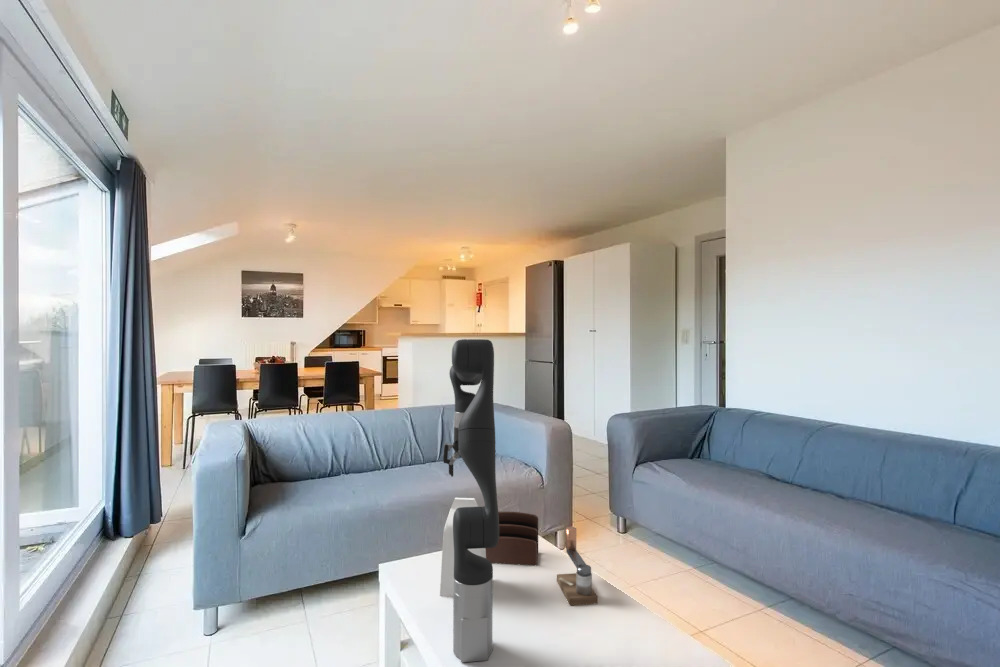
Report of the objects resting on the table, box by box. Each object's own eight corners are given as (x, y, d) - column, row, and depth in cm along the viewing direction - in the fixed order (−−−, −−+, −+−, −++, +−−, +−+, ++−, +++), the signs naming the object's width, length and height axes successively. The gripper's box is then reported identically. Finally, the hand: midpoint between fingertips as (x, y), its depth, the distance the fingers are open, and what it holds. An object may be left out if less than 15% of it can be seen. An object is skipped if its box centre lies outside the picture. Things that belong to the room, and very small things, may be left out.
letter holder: (481, 550, 174) (481, 509, 175) (538, 553, 172) (538, 512, 172) (476, 563, 165) (476, 519, 165) (537, 566, 162) (537, 522, 162)
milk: (486, 578, 153) (487, 493, 154) (481, 598, 142) (482, 505, 142) (447, 576, 155) (448, 492, 155) (439, 596, 143) (440, 504, 143)
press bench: (597, 603, 139) (597, 578, 139) (568, 605, 138) (569, 580, 138) (582, 579, 153) (582, 556, 153) (556, 581, 152) (556, 557, 152)
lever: (593, 575, 140) (593, 548, 140) (579, 576, 140) (579, 549, 140) (575, 550, 157) (575, 526, 157) (563, 551, 156) (563, 527, 156)
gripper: (443, 427, 158) (443, 479, 158) (488, 426, 160) (488, 478, 160) (443, 423, 166) (442, 473, 165) (486, 423, 168) (485, 471, 168)
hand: (465, 475), depth 163 cm, fingers open, 8 cm apart
